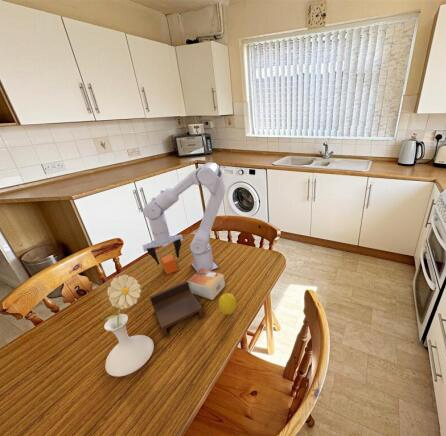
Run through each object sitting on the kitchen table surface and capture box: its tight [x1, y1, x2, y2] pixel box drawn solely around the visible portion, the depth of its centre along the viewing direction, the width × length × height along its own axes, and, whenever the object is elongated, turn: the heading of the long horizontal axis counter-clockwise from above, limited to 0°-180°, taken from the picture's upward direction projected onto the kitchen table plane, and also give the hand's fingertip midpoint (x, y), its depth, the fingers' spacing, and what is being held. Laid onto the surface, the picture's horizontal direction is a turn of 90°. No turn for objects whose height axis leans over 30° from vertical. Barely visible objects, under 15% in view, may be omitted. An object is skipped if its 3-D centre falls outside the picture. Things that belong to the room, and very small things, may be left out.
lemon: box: [218, 292, 238, 316], centre depth 76 cm, size 6×6×8 cm
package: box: [160, 253, 179, 275], centre depth 99 cm, size 5×4×6 cm
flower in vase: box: [102, 274, 155, 377], centre depth 60 cm, size 13×11×25 cm
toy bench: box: [149, 280, 205, 338], centre depth 76 cm, size 12×12×7 cm
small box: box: [186, 269, 226, 301], centre depth 87 cm, size 8×6×10 cm
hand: (168, 259), depth 98 cm, fingers open, 7 cm apart
